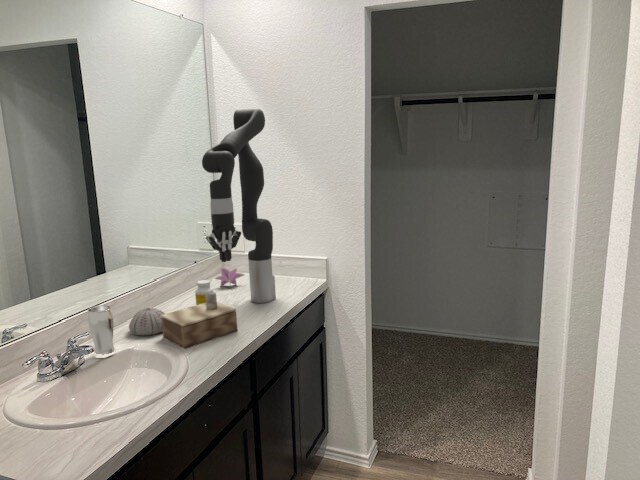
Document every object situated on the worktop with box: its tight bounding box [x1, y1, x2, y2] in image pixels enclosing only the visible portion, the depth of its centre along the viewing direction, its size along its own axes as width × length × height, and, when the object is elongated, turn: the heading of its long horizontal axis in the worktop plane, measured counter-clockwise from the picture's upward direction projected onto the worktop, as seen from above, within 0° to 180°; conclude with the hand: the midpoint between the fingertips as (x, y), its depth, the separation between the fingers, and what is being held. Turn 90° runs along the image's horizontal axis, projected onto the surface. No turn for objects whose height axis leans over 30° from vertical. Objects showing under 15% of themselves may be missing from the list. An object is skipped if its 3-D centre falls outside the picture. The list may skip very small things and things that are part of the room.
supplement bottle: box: [194, 279, 215, 306], centre depth 190 cm, size 7×7×13 cm
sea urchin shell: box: [128, 307, 166, 336], centre depth 176 cm, size 13×14×8 cm
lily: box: [214, 267, 246, 291], centre depth 225 cm, size 12×12×10 cm
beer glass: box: [87, 304, 116, 355], centre depth 156 cm, size 7×7×15 cm
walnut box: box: [162, 310, 238, 350], centre depth 171 cm, size 20×14×7 cm
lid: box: [161, 292, 237, 327], centre depth 170 cm, size 20×14×6 cm
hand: (225, 261), depth 175 cm, fingers closed
